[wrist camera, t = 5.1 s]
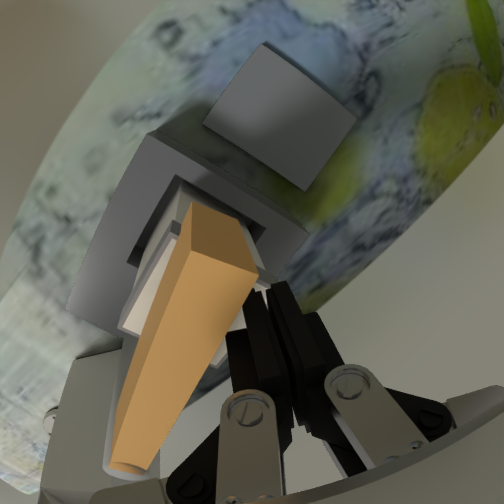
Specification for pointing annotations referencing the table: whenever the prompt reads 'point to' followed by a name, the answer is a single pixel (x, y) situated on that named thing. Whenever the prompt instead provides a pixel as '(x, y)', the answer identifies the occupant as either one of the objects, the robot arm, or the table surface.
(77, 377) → the milk carton
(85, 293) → the socket
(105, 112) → the table surface
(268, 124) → the mat
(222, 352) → the plug
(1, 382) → the table surface
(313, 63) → the table surface
